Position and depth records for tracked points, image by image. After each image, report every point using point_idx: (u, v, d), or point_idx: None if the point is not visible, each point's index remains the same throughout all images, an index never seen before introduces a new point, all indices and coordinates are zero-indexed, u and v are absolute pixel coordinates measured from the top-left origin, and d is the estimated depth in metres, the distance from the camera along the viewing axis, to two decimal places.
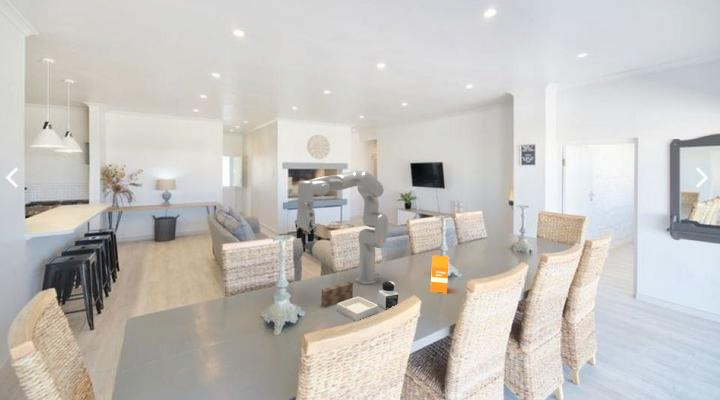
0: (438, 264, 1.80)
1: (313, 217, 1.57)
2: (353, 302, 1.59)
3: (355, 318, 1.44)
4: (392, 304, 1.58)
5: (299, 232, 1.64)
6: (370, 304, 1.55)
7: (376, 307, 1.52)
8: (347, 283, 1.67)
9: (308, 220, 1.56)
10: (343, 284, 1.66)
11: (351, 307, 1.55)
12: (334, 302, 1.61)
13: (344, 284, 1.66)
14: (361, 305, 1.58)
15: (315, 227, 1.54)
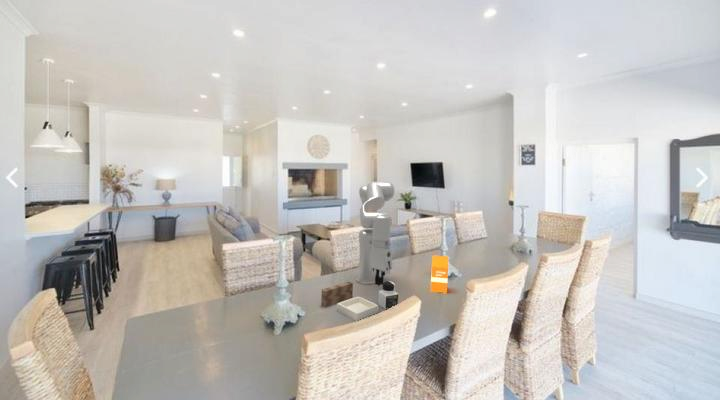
0: (438, 263, 1.80)
1: (390, 257, 1.38)
2: (353, 302, 1.59)
3: (355, 318, 1.44)
4: (392, 304, 1.58)
5: None
6: (370, 304, 1.55)
7: (376, 307, 1.52)
8: (347, 283, 1.67)
9: (386, 261, 1.37)
10: (343, 284, 1.66)
11: (351, 307, 1.55)
12: (334, 302, 1.61)
13: (344, 284, 1.66)
14: (361, 305, 1.58)
15: (388, 273, 1.38)
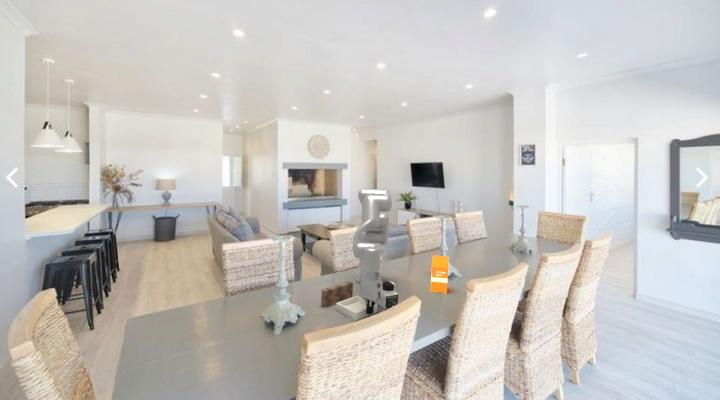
0: (438, 264, 1.80)
1: (380, 288, 1.44)
2: (352, 302, 1.60)
3: (354, 317, 1.45)
4: (392, 304, 1.58)
5: None
6: None
7: (375, 306, 1.52)
8: (347, 283, 1.67)
9: (376, 292, 1.42)
10: (343, 284, 1.66)
11: (350, 306, 1.56)
12: (334, 302, 1.61)
13: (344, 284, 1.66)
14: (360, 304, 1.58)
15: None
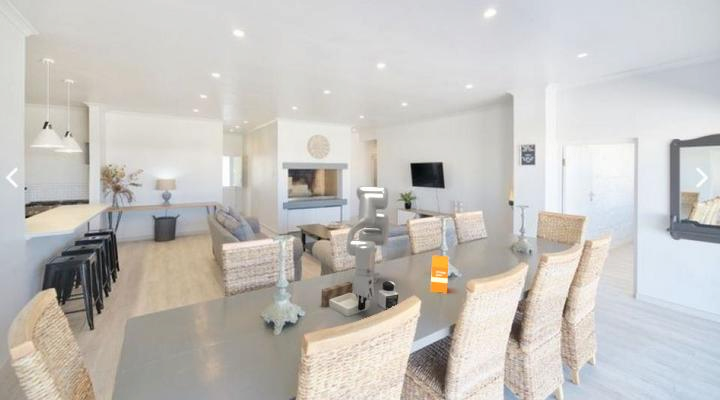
0: (438, 264, 1.80)
1: (372, 284, 1.47)
2: (345, 298, 1.64)
3: (346, 313, 1.48)
4: (392, 304, 1.58)
5: None
6: None
7: (367, 303, 1.56)
8: (347, 283, 1.67)
9: (367, 288, 1.46)
10: (343, 284, 1.66)
11: (343, 303, 1.60)
12: None
13: (344, 284, 1.66)
14: (353, 301, 1.62)
15: None
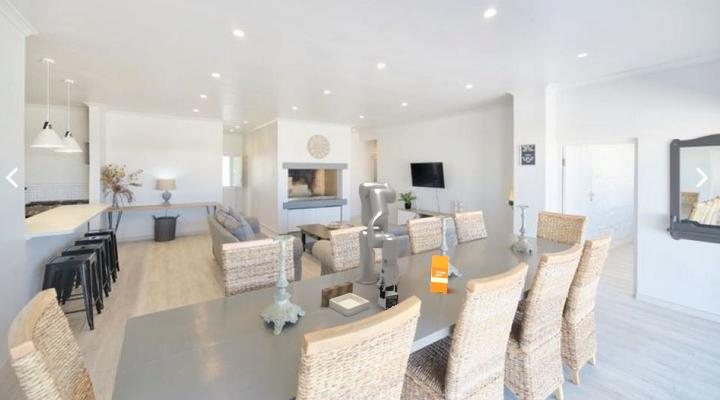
0: (438, 264, 1.80)
1: (384, 274, 1.55)
2: (345, 298, 1.64)
3: (346, 313, 1.48)
4: (392, 304, 1.58)
5: None
6: (361, 300, 1.60)
7: (367, 303, 1.56)
8: (347, 283, 1.67)
9: (380, 275, 1.57)
10: (343, 284, 1.66)
11: (343, 303, 1.59)
12: None
13: (344, 284, 1.66)
14: (353, 301, 1.62)
15: (377, 285, 1.54)
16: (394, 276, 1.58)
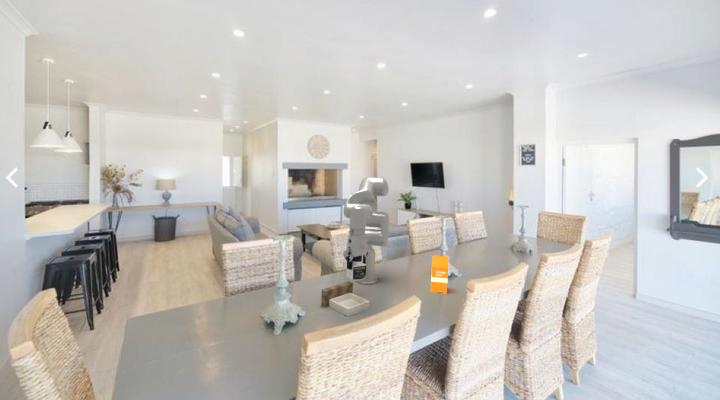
0: (438, 264, 1.80)
1: (351, 244, 1.50)
2: (345, 298, 1.64)
3: (346, 313, 1.48)
4: (360, 275, 1.53)
5: None
6: (361, 300, 1.60)
7: (367, 303, 1.56)
8: (347, 283, 1.67)
9: (347, 246, 1.53)
10: (343, 284, 1.66)
11: (343, 303, 1.59)
12: None
13: (344, 284, 1.66)
14: (353, 301, 1.62)
15: (344, 255, 1.49)
16: (362, 246, 1.54)
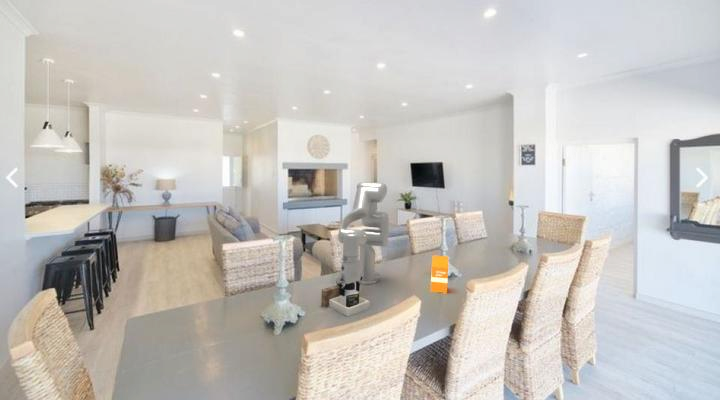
0: (438, 264, 1.80)
1: (344, 272, 1.51)
2: None
3: (346, 313, 1.48)
4: (353, 303, 1.54)
5: (356, 284, 1.60)
6: (361, 300, 1.60)
7: (367, 303, 1.56)
8: None
9: (340, 272, 1.54)
10: None
11: None
12: None
13: None
14: None
15: (336, 281, 1.50)
16: (355, 273, 1.54)
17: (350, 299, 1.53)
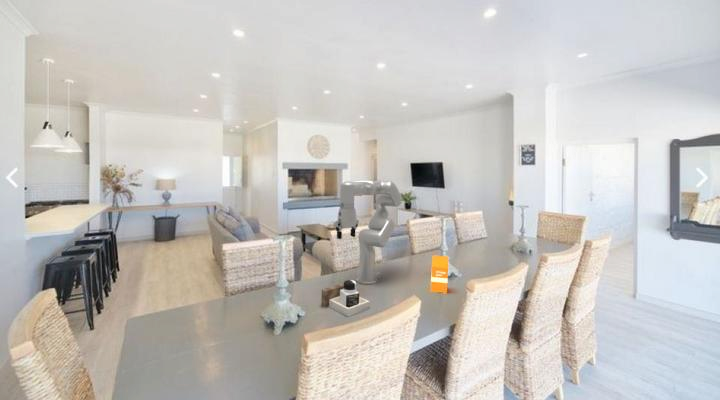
0: (438, 264, 1.80)
1: (341, 216, 1.68)
2: None
3: (346, 313, 1.48)
4: (353, 303, 1.54)
5: (352, 231, 1.77)
6: (361, 300, 1.60)
7: (367, 303, 1.56)
8: None
9: (338, 218, 1.70)
10: (343, 284, 1.66)
11: None
12: None
13: None
14: None
15: (334, 225, 1.67)
16: (351, 219, 1.71)
17: (350, 299, 1.53)
